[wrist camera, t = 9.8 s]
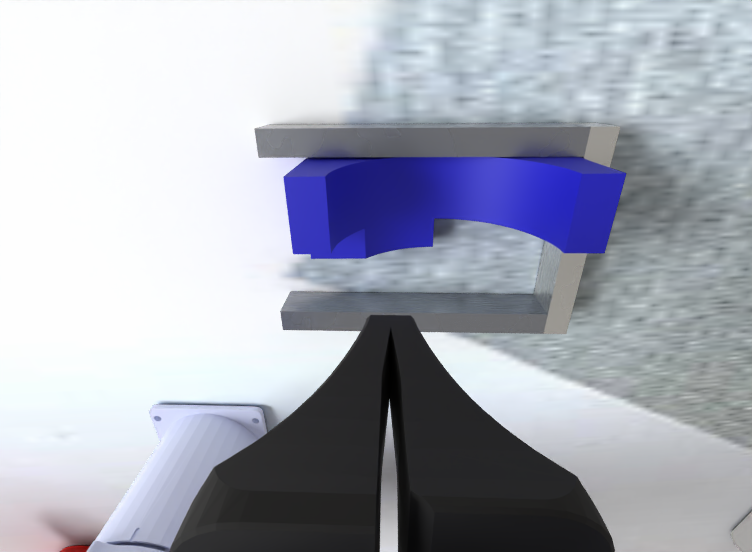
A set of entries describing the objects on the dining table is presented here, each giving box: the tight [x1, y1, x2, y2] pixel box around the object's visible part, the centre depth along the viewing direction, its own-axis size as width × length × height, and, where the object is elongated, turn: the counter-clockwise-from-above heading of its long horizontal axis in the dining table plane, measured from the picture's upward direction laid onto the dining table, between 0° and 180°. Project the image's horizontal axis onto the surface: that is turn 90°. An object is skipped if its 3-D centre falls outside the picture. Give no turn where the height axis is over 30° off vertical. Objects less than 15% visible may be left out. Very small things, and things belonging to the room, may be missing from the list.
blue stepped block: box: [284, 157, 626, 259], centre depth 17 cm, size 12×4×6 cm, turn 91°
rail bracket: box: [255, 123, 620, 334], centre depth 19 cm, size 10×15×2 cm
